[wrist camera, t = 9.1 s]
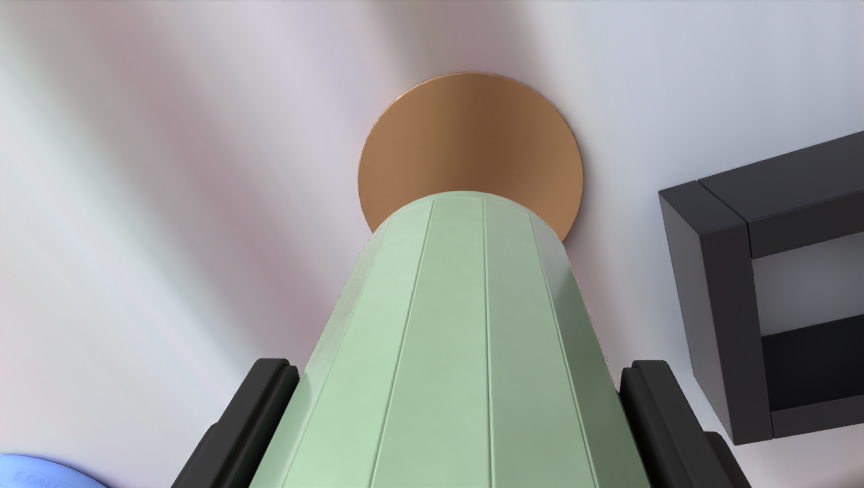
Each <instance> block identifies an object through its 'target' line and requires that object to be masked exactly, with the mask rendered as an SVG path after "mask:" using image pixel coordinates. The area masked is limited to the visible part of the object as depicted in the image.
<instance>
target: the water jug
mask: <svg viewBox="0 0 864 488" xmlns="http://www.w3.org/2000/svg"><path fill="white" fill-rule="evenodd" d="M0 488H107V487H105V486H104V485H102V484H101V483H99V482H97V481H95V480H94V479H92V478H90V477H88V476H86V475H84V474H82V473H80V472H78V471H76V470H73V469H71V468H68V467H66V466H63V465H60V464H57V463H54V462H50V461H47V460H43V459H38V458H33V457H27V456H19V455H0Z"/></svg>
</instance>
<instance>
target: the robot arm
mask: <svg viewBox="0 0 864 488" xmlns="http://www.w3.org/2000/svg"><path fill="white" fill-rule="evenodd" d="M299 381H300V378H299V374H298V370H297V367H296V366H290V364H289V361H288V360H287V359H272V358H260V359H258V360H257V361H256V362H255V363H254V365H253V367H252V368H251V370H250V371H249V373H248V375H247V376H246V378H245V379H244V381H243V383H242V384H241V386H240V387H239V389H238V391H237V392H236V394H235V395H234V397H233V399H232V400H231V402H230V403H229V405H228V407H227V408H226V410H225V411H224V413H223V415H222V416H221V418H220V419H219V421H218V422H217V423H215V424H213V425H212V426H211V427H210V428H209V429H208V430H207V432H206V433H205V435H204V436H203V438H202V439H201V441H200V442H199V444H198V446H197V447H196V449H195V450H194V452H193V453H192V455H191V457H190V458H189V460H188V461H187V463H186V464H185V466H184V468H183V469H182V471H181V472H180V474H179V475H178V477H177V478H176V480H175V482H174V483H173V485H172V486H171V488H249V486H250V484H251V482H252V480H253V478H254V475H255V473H256V471H257V469H258V467H259V465H260V463H261V461H262V459H263V456H264V454H265V452H266V450H267V448H268V446H269V444H270V442H271V440H272V438H273V435H274V433H275V431H276V429H277V427H278V425H279V423H280V421H281V419H282V417H283V414H284V412H285V410H286V408H287V406H288V404H289V402H290V400H291V398H292V395H293V393H294V391H295V389H296V387H297V385H298V383H299ZM619 393H620V396H621V398H622V401H623V404H624V407H625V409H626V412H627V415H628V418H629V420H630V423H631V426H632V429H633V431H634V434H635V437H636V439H637V442H638V445H639V448H640V450H641V453H642V456H643V459H644V461H645V464H646V467H647V470H648V472H649V475H650V478H651V481H652V483H653V486H654V488H752V487H751V486H750V484H749V482H748V480H747V479H746V477H745V475H744V473H743V471H742V470H741V468H740V466H739V464H738V463H737V461H736V459H735V457H734V456H733V454H732V452H731V450H730V448H729V447H728V445H727V443H726V442H725V440H724V439H723V437H722V436H721V435H720V434H718V433H717V432H709V431H703V429H702V427H701V426H700V424H699V422H698V420H697V418H696V416H695V414H694V412H693V410H692V408H691V407H690V405H689V403H688V401H687V399H686V397H685V395H684V393H683V391H682V390H681V388H680V386H679V384H678V382H677V380H676V378H675V376H674V374H673V372H672V371H671V369H670V367H669V365H668V364H667V362H666V361H664V360H635V361H633V363H632V367H631V368H623V371H622V377H621V385H620V392H619Z"/></svg>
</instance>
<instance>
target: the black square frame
mask: <svg viewBox="0 0 864 488" xmlns="http://www.w3.org/2000/svg"><path fill="white" fill-rule="evenodd" d="M658 194H659V199H660V204H661V209H662V215H663V220H664V225H665V230H666V235H667V240H668V245H669V250H670V255H671V261H672V266H673V271H674V276H675V281H676V286H677V291H678V296H679V301H680V307H681V312H682V317H683V322H684V327H685V332H686V337H687V342H688V347H689V352H690V358H691V363H692V368H693V373H694V377H695V378H696V380H697V382H698V384H699V385H700V387H701V389H702V390H703V392H704V394H705V396H706V397H707V399H708V401H709V403H710V404H711V406H712V408H713V410H714V411H715V413H716V415H717V417H718V418H719V420H720V422H721V423H722V425H723V427H724V429H725V430H726V432H727V434H728V436H729V437H730V439H731V441H732V443H733V444H734V445H735V446H737V445H743V444H748V443H754V442H760V441H765V440H771V439H773V438H774V439H777V438H782V437H788V436H793V435H799V434H805V433H810V432H816V431H822V430H827V429H833V428H839V427H844V426H850V425H855V424H861V423H864V314H863V315H859V316H854V317H849V318H845V319H840V320H836V321H831V322H827V323H822V324H818V325H813V326H809V327H804V328H800V329H795V330H791V331H786V332H782V333H777V334H773V335H768V336H764V337H761V334H760V326H759V318H758V310H757V301H756V293H755V285H754V277H753V269H752V260H751V258H752V259H756V258H760V257H764V256H768V255H772V254H776V253H779V252H783V251H787V250H791V249H795V248H799V247H803V246H807V245H811V244H815V243H819V242H823V241H827V240H831V239H835V238H838V237H842V236H846V235H850V234H854V233H858V232H862V231H864V131H862V132H858V133H855V134H851V135H848V136H845V137H841V138H838V139H834V140H831V141H828V142H824V143H821V144H817V145H814V146H811V147H807V148H804V149H800V150H797V151H794V152H790V153H787V154H783V155H780V156H777V157H773V158H770V159H767V160H763V161H760V162H756V163H753V164H750V165H746V166H743V167H739V168H736V169H733V170H729V171H726V172H722V173H719V174H716V175H712V176H709V177H705V178H702V179H699V180H697V181H696V180H695V181H691V182H688V183H684V184H681V185H678V186H674V187H671V188H667V189H664V190H661V191H658Z"/></svg>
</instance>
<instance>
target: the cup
mask: <svg viewBox="0 0 864 488" xmlns="http://www.w3.org/2000/svg"><path fill="white" fill-rule="evenodd" d="M249 488H654V486H653V483H652V481H651V478H650V475H649V472H648V470H647V467H646V464H645V461H644V459H643V456H642V453H641V450H640V448H639V445H638V442H637V439H636V437H635V434H634V431H633V429H632V426H631V423H630V420H629V418H628V415H627V412H626V409H625V407H624V404H623V401H622V398H621V396H620V393H619V390H618V387H617V384H616V382H615V379H614V376H613V373H612V371H611V368H610V365H609V363H608V360H607V357H606V354H605V352H604V349H603V346H602V343H601V341H600V338H599V335H598V332H597V330H596V327H595V324H594V322H593V319H592V316H591V313H590V311H589V308H588V305H587V302H586V300H585V297H584V294H583V291H582V289H581V286H580V283H579V281H578V278H577V276H576V273H575V271H574V269H573V266H572V264H571V261H570V258H569V256H568V253H567V251H566V249H565V247H564V245H563V243H562V242H561V240H560V239H559V238H558V236H557V235H556V233H555V232H554V231H553V230H552V229H551V228H550V227H549V225H548V224H547V223H546V222H545V221H544V220H542V219H541V218H540V217H539V216H537V215H536V214H535V213H534V212H532V211H531V210H529V209H527V208H525V207H524V206H522V205H520V204H518V203H516V202H514V201H511V200H509V199H507V198H504V197H500V196H497V195H493V194H489V193H483V192H477V191H452V192H443V193H438V194H434V195H429V196H426V197H424V198H421V199H418V200H415V201H413V202H411V203H409V204H407V205H405V206H404V207H402V208H400V209H399V210H397V211H396V212H395V213H393V214H392V215H390V216H389V217H388V218H387V219H386V220H385V221H384V222H383V223H382V224H381V225H380V226H379V227H378V228H377V229H376V231H375V232H374V233H373V234H372V236H371V237H370V239H369V241H368V243H367V244H366V245H365V246H364V247H363V249H362V250H361V252H360V255H359V257H358V259H357V261H356V263H355V265H354V267H353V269H352V271H351V273H350V276H349V278H348V280H347V282H346V284H345V286H344V288H343V290H342V292H341V295H340V297H339V299H338V301H337V303H336V305H335V307H334V309H333V311H332V313H331V316H330V318H329V320H328V322H327V324H326V326H325V328H324V330H323V332H322V334H321V337H320V339H319V341H318V343H317V345H316V347H315V349H314V351H313V353H312V356H311V358H310V360H309V362H308V364H307V366H306V368H305V370H304V372H303V374H302V377H301V379H300V381H299V383H298V385H297V387H296V389H295V391H294V393H293V395H292V398H291V400H290V402H289V404H288V406H287V408H286V410H285V412H284V414H283V417H282V419H281V421H280V423H279V425H278V427H277V429H276V431H275V433H274V435H273V438H272V440H271V442H270V444H269V446H268V448H267V450H266V452H265V454H264V456H263V459H262V461H261V463H260V465H259V467H258V469H257V471H256V473H255V475H254V478H253V480H252V482H251V484H250V486H249Z"/></svg>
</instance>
